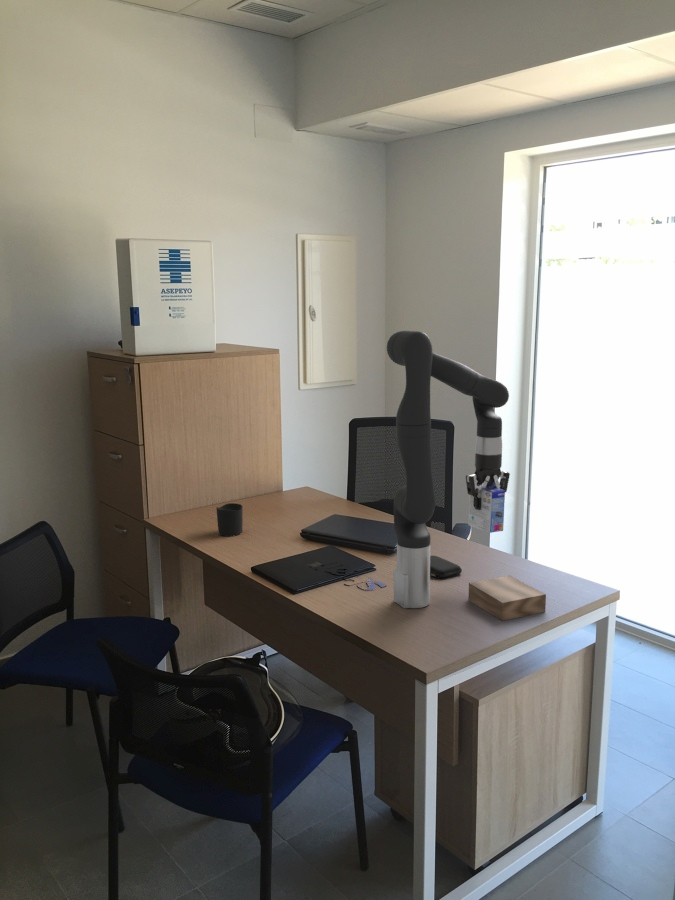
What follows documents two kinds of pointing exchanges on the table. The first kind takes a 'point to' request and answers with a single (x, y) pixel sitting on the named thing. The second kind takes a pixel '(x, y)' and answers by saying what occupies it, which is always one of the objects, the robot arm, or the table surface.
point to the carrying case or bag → (443, 568)
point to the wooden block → (507, 597)
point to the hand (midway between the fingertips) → (486, 508)
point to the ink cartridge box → (488, 510)
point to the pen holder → (230, 519)
